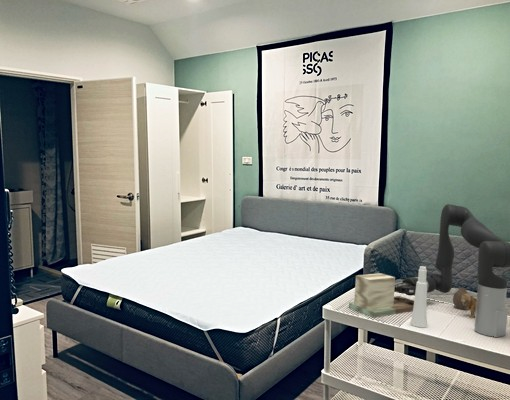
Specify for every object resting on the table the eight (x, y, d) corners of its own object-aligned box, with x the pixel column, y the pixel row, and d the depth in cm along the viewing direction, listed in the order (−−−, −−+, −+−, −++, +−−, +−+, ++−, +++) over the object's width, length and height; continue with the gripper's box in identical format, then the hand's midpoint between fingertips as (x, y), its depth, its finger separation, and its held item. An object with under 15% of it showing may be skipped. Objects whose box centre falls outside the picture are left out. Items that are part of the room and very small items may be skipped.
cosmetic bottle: (409, 321, 168) (413, 264, 167) (426, 323, 167) (430, 266, 166) (410, 326, 162) (415, 267, 161) (428, 328, 161) (432, 269, 160)
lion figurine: (458, 315, 179) (459, 293, 179) (462, 313, 183) (464, 291, 182) (498, 325, 169) (499, 302, 169) (501, 322, 173) (503, 299, 172)
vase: (454, 309, 188) (455, 289, 187) (450, 305, 194) (452, 285, 194) (471, 311, 186) (473, 291, 186) (467, 306, 193) (469, 287, 192)
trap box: (425, 309, 186) (425, 304, 186) (373, 317, 171) (374, 312, 171) (399, 300, 198) (399, 295, 198) (348, 307, 183) (349, 302, 183)
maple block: (393, 306, 180) (395, 277, 180) (368, 310, 173) (370, 280, 173) (378, 301, 187) (380, 273, 187) (354, 304, 180) (356, 275, 180)
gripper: (403, 274, 198) (375, 276, 189) (428, 281, 186) (400, 284, 178) (402, 290, 198) (374, 294, 189) (427, 298, 187) (398, 302, 178)
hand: (387, 289), depth 183 cm, fingers closed
